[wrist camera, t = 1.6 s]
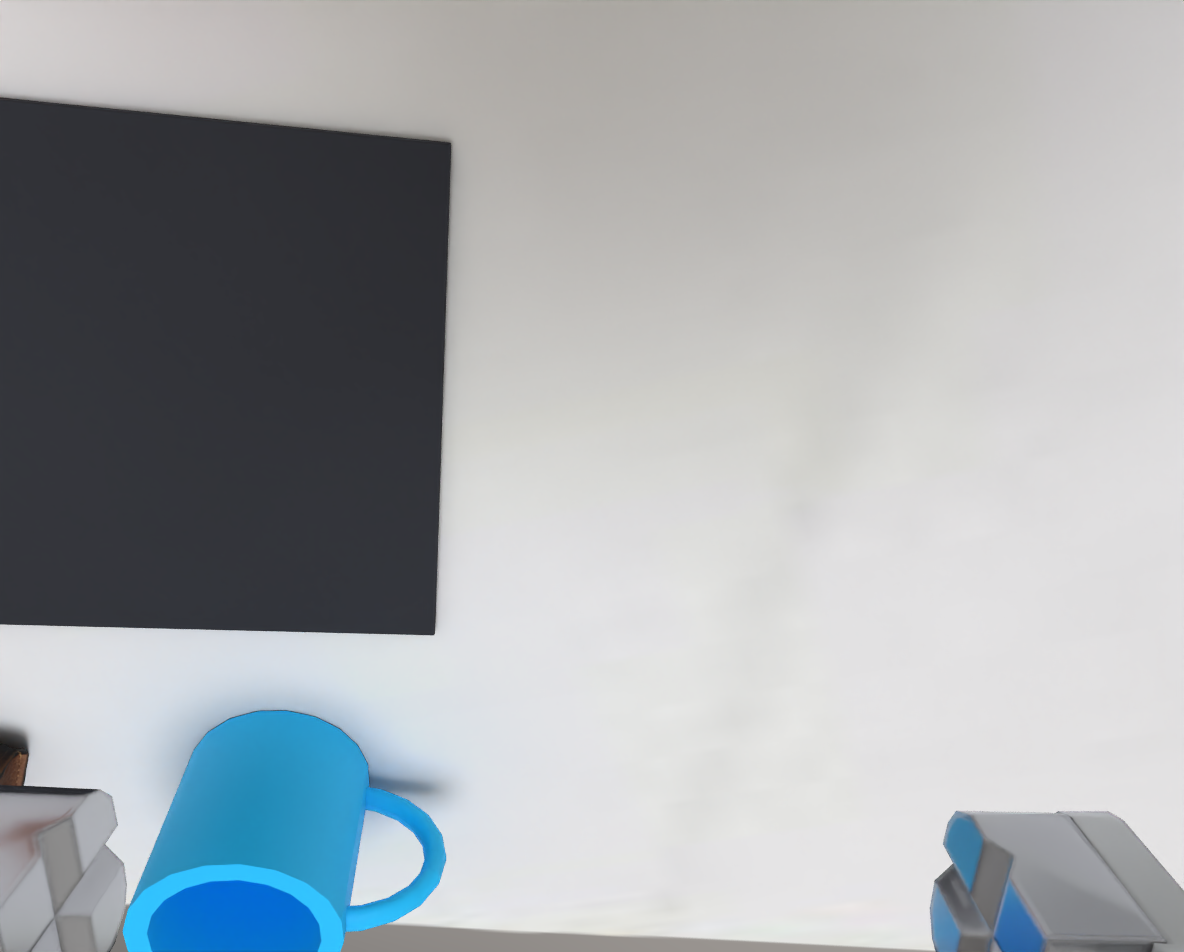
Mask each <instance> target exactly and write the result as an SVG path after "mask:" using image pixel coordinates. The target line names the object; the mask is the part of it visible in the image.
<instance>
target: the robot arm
mask: <svg viewBox="0 0 1184 952" xmlns="http://www.w3.org/2000/svg"><path fill="white" fill-rule="evenodd" d="M117 826H118V824H117V819H116V814H115V809H114V804H113V799H112V796H110V795H109V794H107V793H105V792H104V791H102V790H98V789H77V788H56V787H35V786H14V785H0V952H110V951H111V949H112V947H113V945H114V944H115V940H116V938H117V934H118V931H119V928H120V924H121V921H122V918H123V915H124V911H125V902H126V887H127V883H126V876H125V868H124V863H123V862H122V861H121V860H120V859H119V858H118V857H117V856H116V855H115V854H114V853H113V852H112V851H111V850H110V849H109V848H108V847H107V846H106V845H105V843H106V842H107V840H108V839H109V837H110V836H111V834H112V833H113V831H114V830H115V828H116V827H117ZM943 845H944V847H945V849H946V851H947V853H948V854H949V856H950V858H951V860H952V862H953V864H952V865H951V866H950V867H949V868H948V869H947V870H946V871H945V872H943V873H942V874H941V875H940V876H939V877H938V878H937V879H936V880H935V882H934V888H933V894H932V899H931V905H930V916H931V929H932V939H933V943H934V947H935V950H936V952H1184V890H1183V889H1182V888H1181V887H1180V886H1179V885H1178V883H1177V882H1176V881H1175V880H1174V879H1173V878H1172V876H1171V875H1170V874H1169V873H1168V872H1167V871H1166V869H1165V868H1164V867H1163V866H1162V865H1161V864H1160V862H1159V861H1158V860H1157V859H1156V858H1155V857H1154V855H1153V854H1152V853H1151V852H1150V851H1149V850H1148V848H1147V847H1146V846H1145V845H1144V844H1143V843H1142V841H1141V840H1140V839H1139V838H1138V837H1137V836H1136V834H1135V833H1134V832H1133V831H1132V830H1131V828H1130V827H1129V826H1128V825H1127V824H1126V823H1125V821H1124V820H1122V819H1121V818H1119V817H1117V816H1116V815H1114V814H1112V813H1110V812H1108V811H1058V812H1056V813H1040V812H985V811H956V812H955V813H954V815H953V816H952V818H951V819H950V821H949V822H948V825H947V829H946V833H945V837H944V842H943Z"/></svg>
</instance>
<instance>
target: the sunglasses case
mask: <svg viewBox="0 0 1184 952" xmlns="http://www.w3.org/2000/svg"><path fill="white" fill-rule="evenodd" d="M28 756H29V755H28V752H27V751H26V749H24V748H20V749H14V748H10V747H9V746H7V745H5V744H0V785H14V786H23V784H24V779H25V772H26V767H27V761H28Z"/></svg>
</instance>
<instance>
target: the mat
mask: <svg viewBox="0 0 1184 952" xmlns="http://www.w3.org/2000/svg"><path fill="white" fill-rule="evenodd" d="M450 166H451V143H449V142H439V141H429V140H419V139H409V138H399V137H389V136H379V135H369V134H359V133H349V132H339V131H329V130H319V129H309V128H299V127H289V126H279V125H269V124H259V123H249V122H239V121H229V120H219V119H209V118H199V117H189V116H179V115H169V114H159V113H149V112H139V111H129V110H119V109H109V108H99V107H89V106H79V105H69V104H59V103H49V102H39V101H29V100H19V99H9V98H0V624H7V625H47V626H87V627H127V628H166V629H206V630H246V631H286V632H326V633H366V634H406V635H434V634H435V618H436V588H437V558H438V528H439V498H440V468H441V438H442V407H443V377H444V347H445V317H446V287H447V257H448V226H449V196H450Z"/></svg>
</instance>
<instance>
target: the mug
mask: <svg viewBox="0 0 1184 952" xmlns="http://www.w3.org/2000/svg"><path fill="white" fill-rule="evenodd" d="M365 810H370V811H376V812H378V813H380V814H383V815H385V816H388V817H390V818H393V819H395V820H398V821H399V822H400V823H402V824H403V825H404V826H405V827H407V828H408V829H409V830H411V831H412V832H413V833H414V834H415V836H416V837H417V839H418V840H419V842H420V843H421V845H422V846H423V853H424V859H425V860H424V863H423V866H422V869H421V872H420V874H419V875H418V876H417V877H416V878H415V879H414V880H413V882H412V883H411V884H410V885H409V886H408V887H406V888H404V889H402V890H401V891H399V892H397V893H396V894H394V895H392V896H390V897H389V898H386V899H382V900H379V901H375V902H371V903H368V904H364V905H358V906H350V901H351V895H352V889H353V883H354V876H355V870H356V864H357V858H358V852H359V846H360V840H361V834H362V827H363V821H364V815H365ZM445 862H446V853H445V848H444V842H443V837H442V834H441V832H440V831H439V830H438V828H437V827H436V825H435V824H434V822H433V821H432V819H431V818H430V817H429V815H428V814H426V813H425V812H424V811H422V810H421V809H420V808H418V807H417V806H415V805H414V804H413V803H411V802H410V801H409V800H407V799H405V798H402V797H400V796H397V795H395V794H392V793H390V792H387V791H385V790H382V789H376V788H371V787H369V772H368V764H367V762H366V760H365V758H364V756H363V754H362V752H361V751H360V749H359V747H358V745H357V744H356V743H355V742H354V741H352V740H351V739H350V738H349V737H348V736H347V735H346V734H345V733H344V732H343V731H341V730H340V729H339V728H337V727H335V726H333V725H331V724H329V723H327V722H325V721H323V720H321V719H318V718H316V717H314V716H309V715H304V714H300V713H295V712H290V711H256V712H253V713H249V714H245V715H242V716H238V717H234V718H231V719H229V720H227V721H225V722H224V723H222V724H220V725H219V726H217V727H216V728H214V729H212V730H211V731H209V732H208V733H207V734H206V735H205V736H204V738H203V739H202V740H201V741H200V743H199V744H198V745H197V747H196V748H195V749H194V751H193V753H192V756H191V758H190V760H189V763H188V765H187V768H186V770H185V772H184V775H183V777H182V780H181V782H180V785H179V787H178V789H177V792H176V794H175V797H174V799H173V802H172V804H171V806H170V809H169V811H168V814H167V816H166V819H165V821H164V823H163V826H162V828H161V831H160V833H159V836H158V838H157V840H156V843H155V845H154V848H153V850H152V853H151V855H150V857H149V860H148V862H147V865H146V867H145V870H144V872H143V874H142V877H141V879H140V882H139V884H138V886H137V889H136V891H135V894H134V896H133V899H132V901H131V903H130V906H129V909H128V912H127V916H126V920H125V924H124V928H123V934H124V938H125V942H126V946H127V949H128V952H340V950H341V948H342V945H343V943H344V938H345V932H351V931H363V930H366V929H370V928H373V927H376V926H380V925H383V924H387V923H390V922H393V921H396V920H397V919H399V918H401V917H402V916H404V915H406V914H407V913H409V912H411V911H412V910H414V909H415V908H417V907H419V906H420V905H421V904H422V903H423V902H424V901H425V900H426V898H427V897H428V896H429V895H430V894H431V892H432V891H433V890H434V889H435V888H436V887H437V885H438V884H439V882H440V879H441V875H442V872H443V869H444V865H445Z"/></svg>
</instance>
